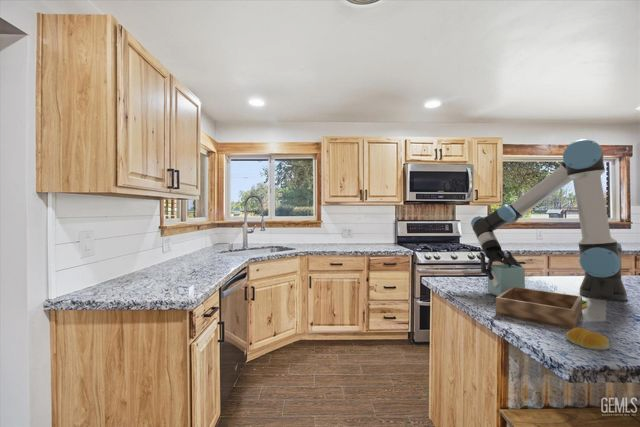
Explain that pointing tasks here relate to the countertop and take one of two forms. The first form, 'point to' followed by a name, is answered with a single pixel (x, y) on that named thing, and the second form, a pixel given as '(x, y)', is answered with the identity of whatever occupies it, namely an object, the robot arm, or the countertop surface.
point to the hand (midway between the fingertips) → (509, 285)
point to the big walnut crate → (540, 307)
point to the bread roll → (587, 339)
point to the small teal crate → (506, 278)
